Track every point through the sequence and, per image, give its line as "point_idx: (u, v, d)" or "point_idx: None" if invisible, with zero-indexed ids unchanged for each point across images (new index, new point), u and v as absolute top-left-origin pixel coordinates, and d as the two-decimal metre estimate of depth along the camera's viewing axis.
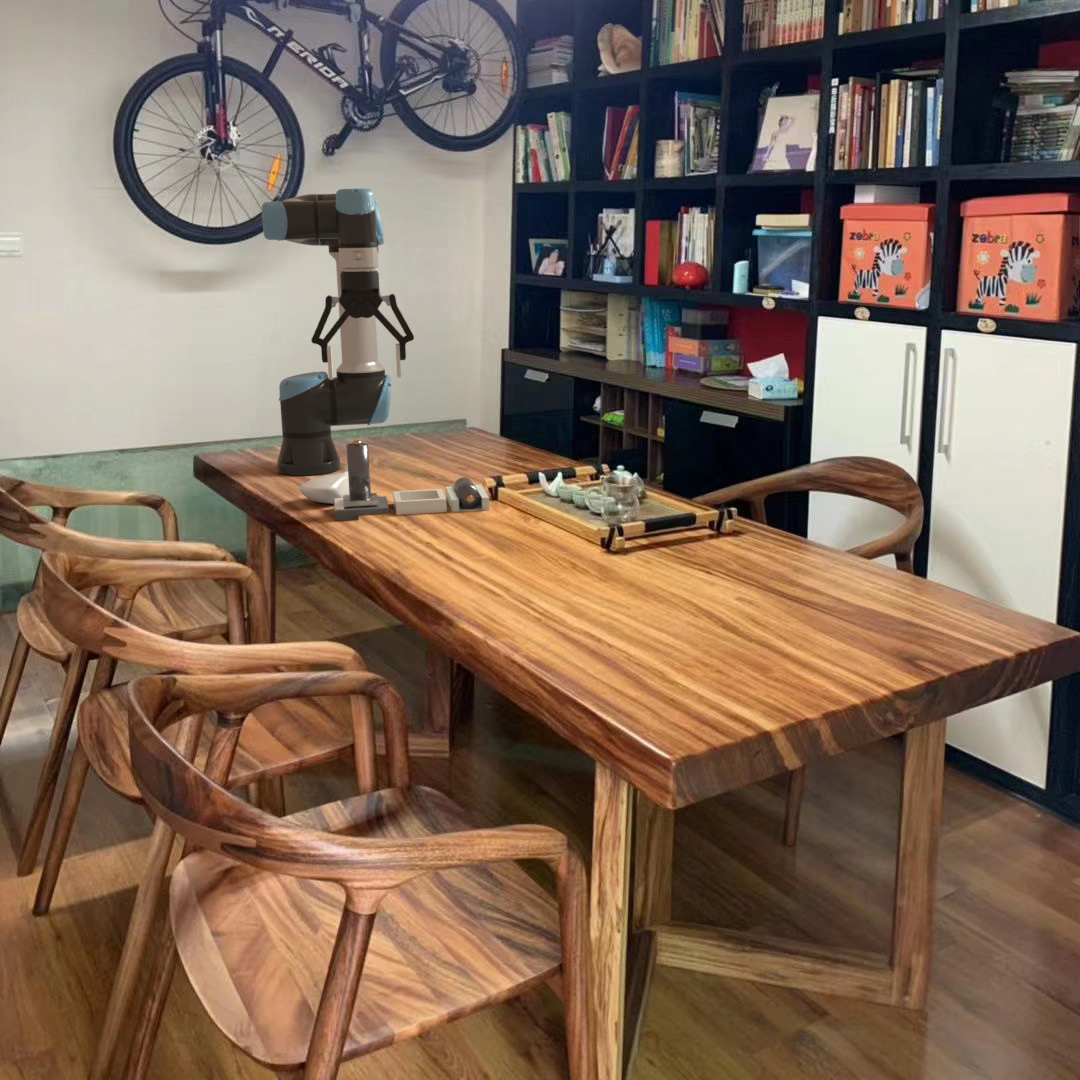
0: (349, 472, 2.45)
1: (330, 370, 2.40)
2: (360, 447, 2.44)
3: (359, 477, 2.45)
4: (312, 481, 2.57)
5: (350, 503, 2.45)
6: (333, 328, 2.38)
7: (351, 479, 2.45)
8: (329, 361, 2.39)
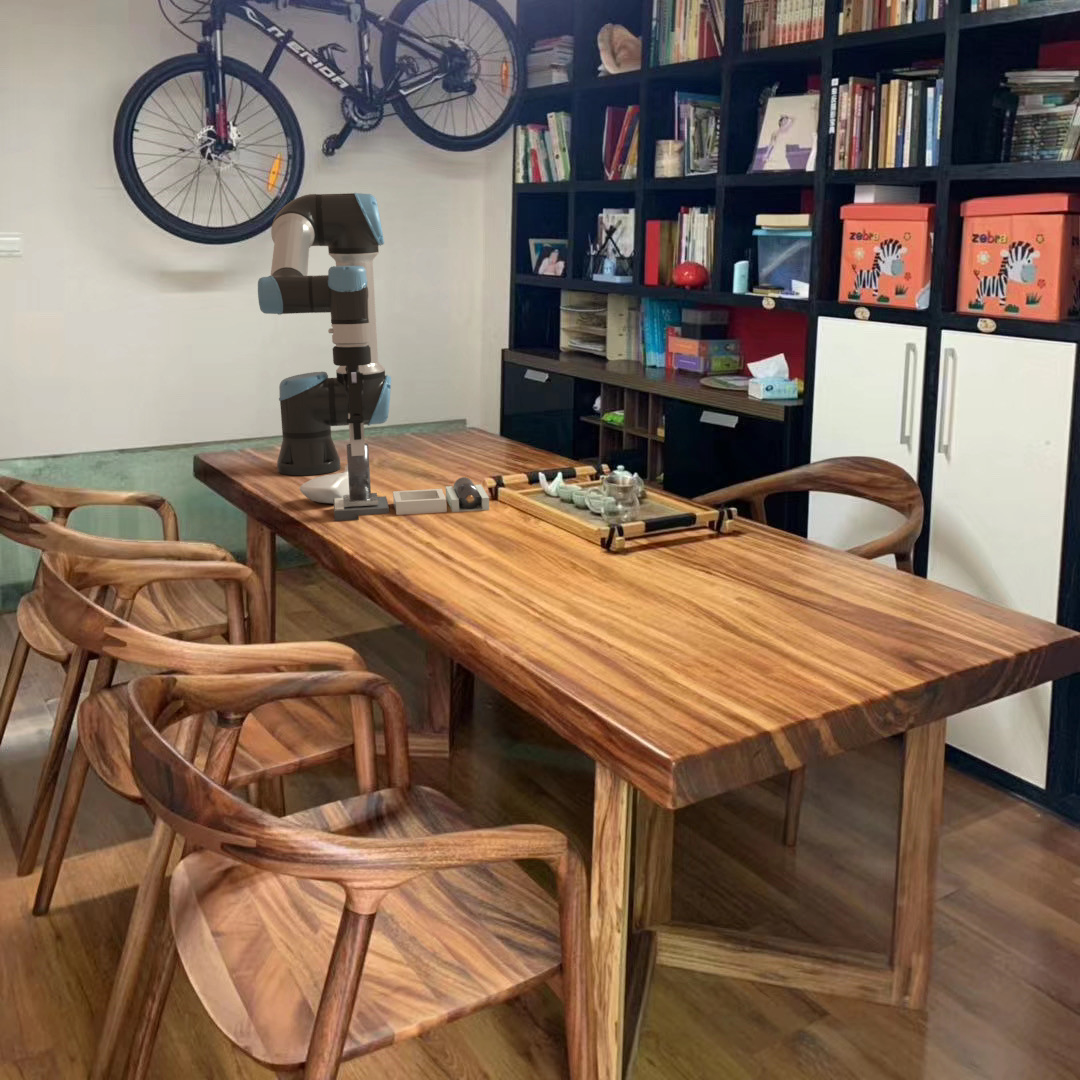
0: (349, 472, 2.45)
1: None
2: None
3: (359, 477, 2.45)
4: (312, 481, 2.57)
5: (350, 503, 2.45)
6: None
7: (351, 479, 2.45)
8: None
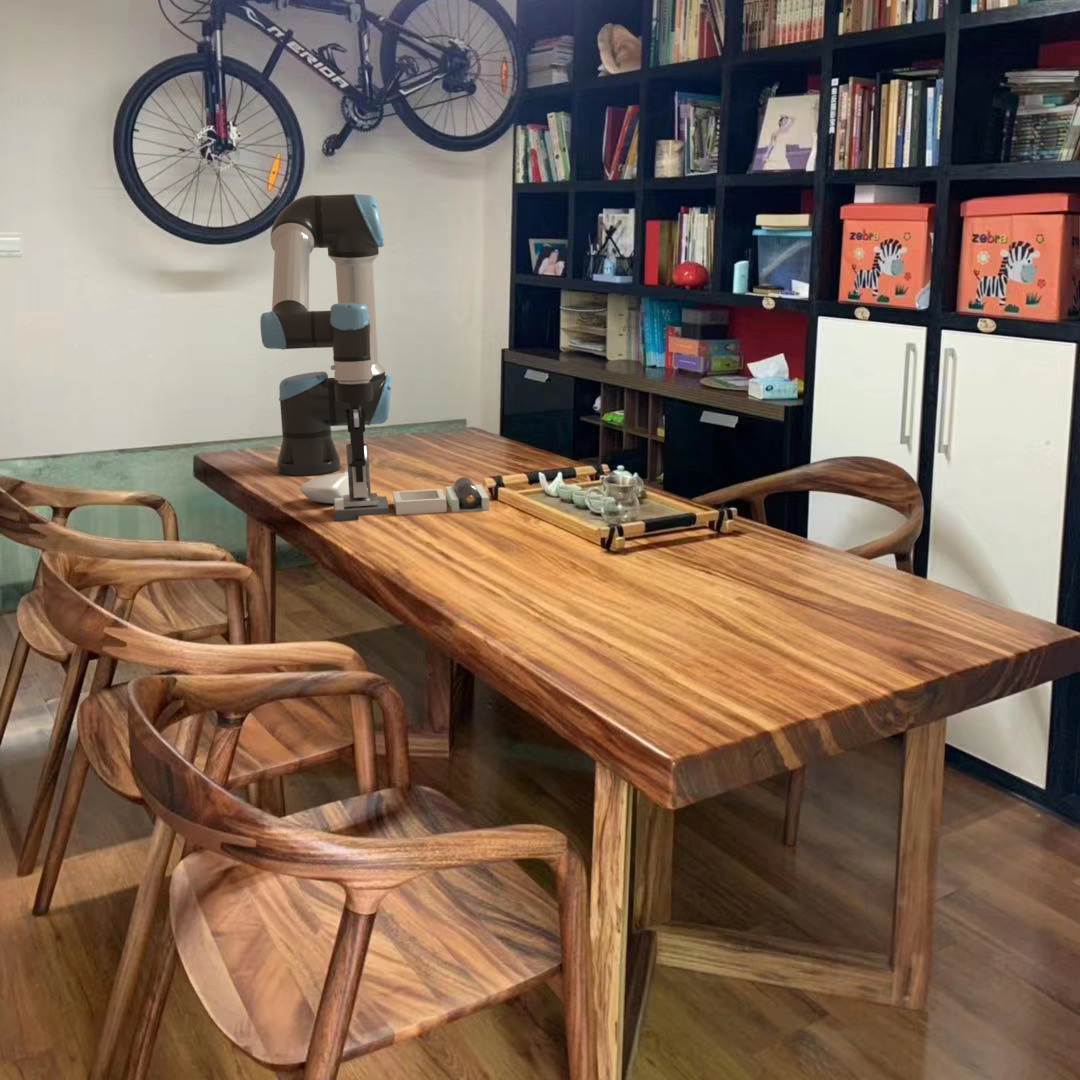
0: (349, 473, 2.45)
1: None
2: None
3: None
4: (313, 481, 2.57)
5: (350, 503, 2.45)
6: None
7: (351, 480, 2.45)
8: None
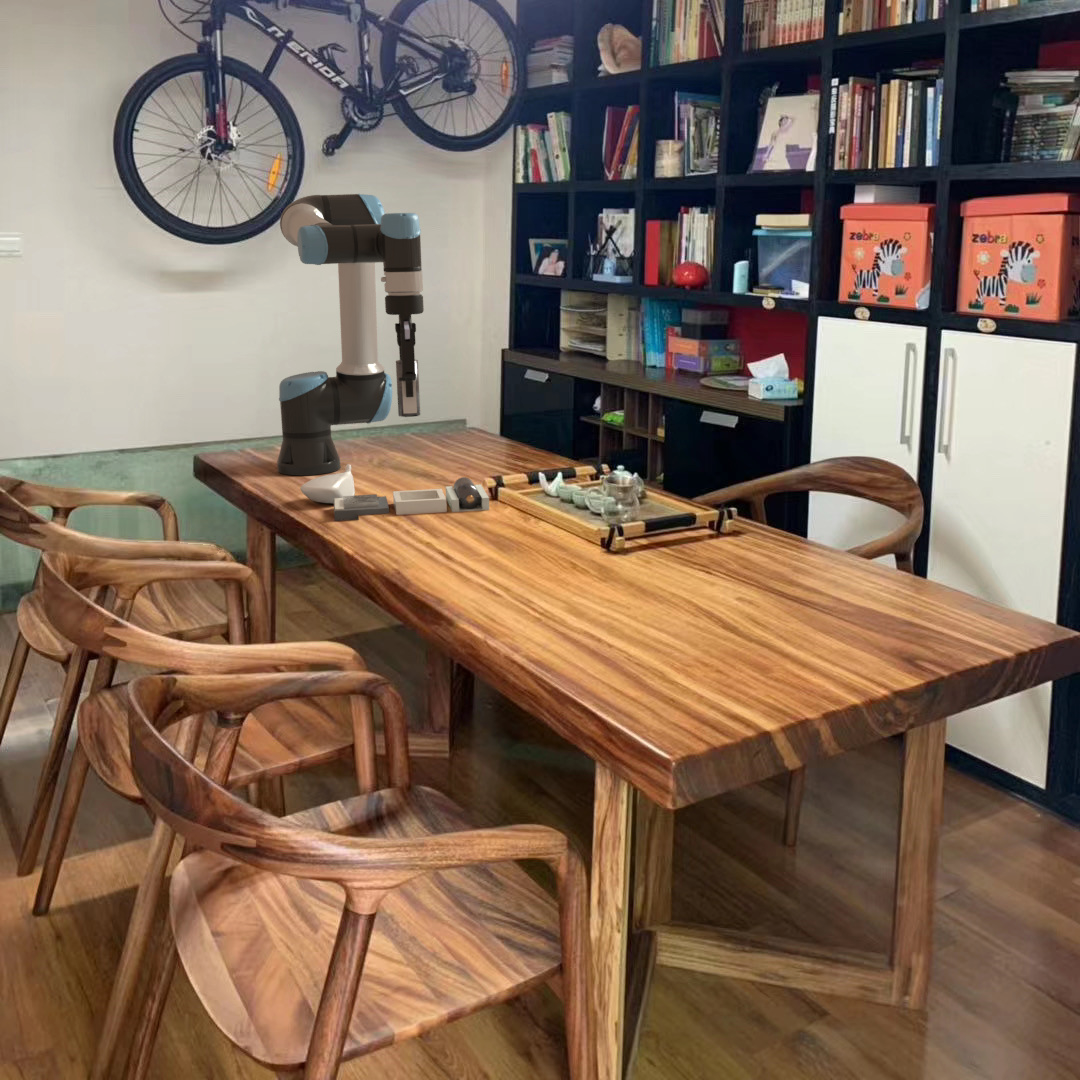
0: (398, 389, 2.41)
1: None
2: None
3: None
4: (313, 481, 2.57)
5: (350, 504, 2.45)
6: None
7: (401, 396, 2.41)
8: None
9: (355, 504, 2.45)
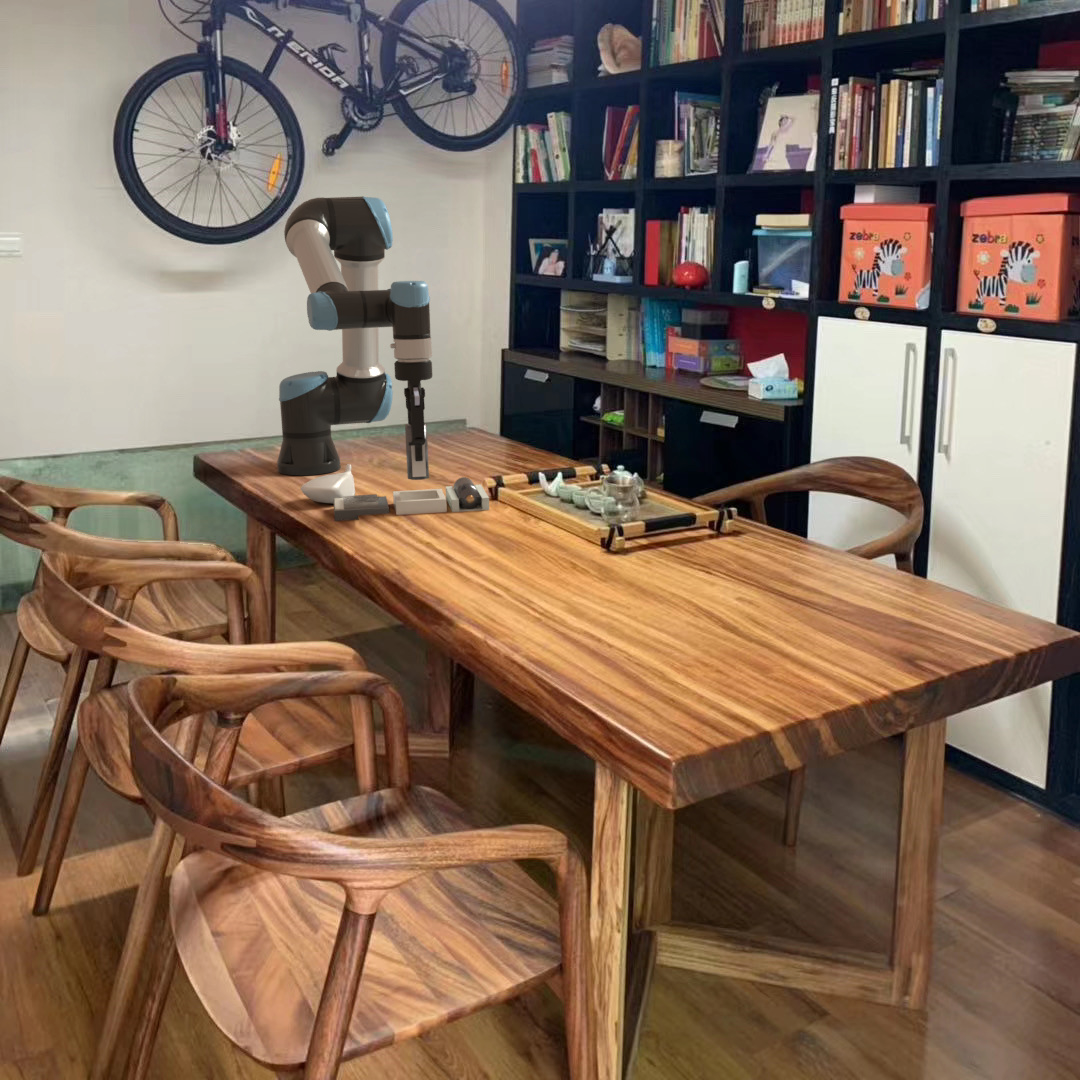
0: (408, 452, 2.44)
1: None
2: None
3: None
4: (313, 481, 2.57)
5: (350, 504, 2.45)
6: (409, 420, 2.47)
7: (410, 459, 2.44)
8: None
9: (355, 504, 2.45)
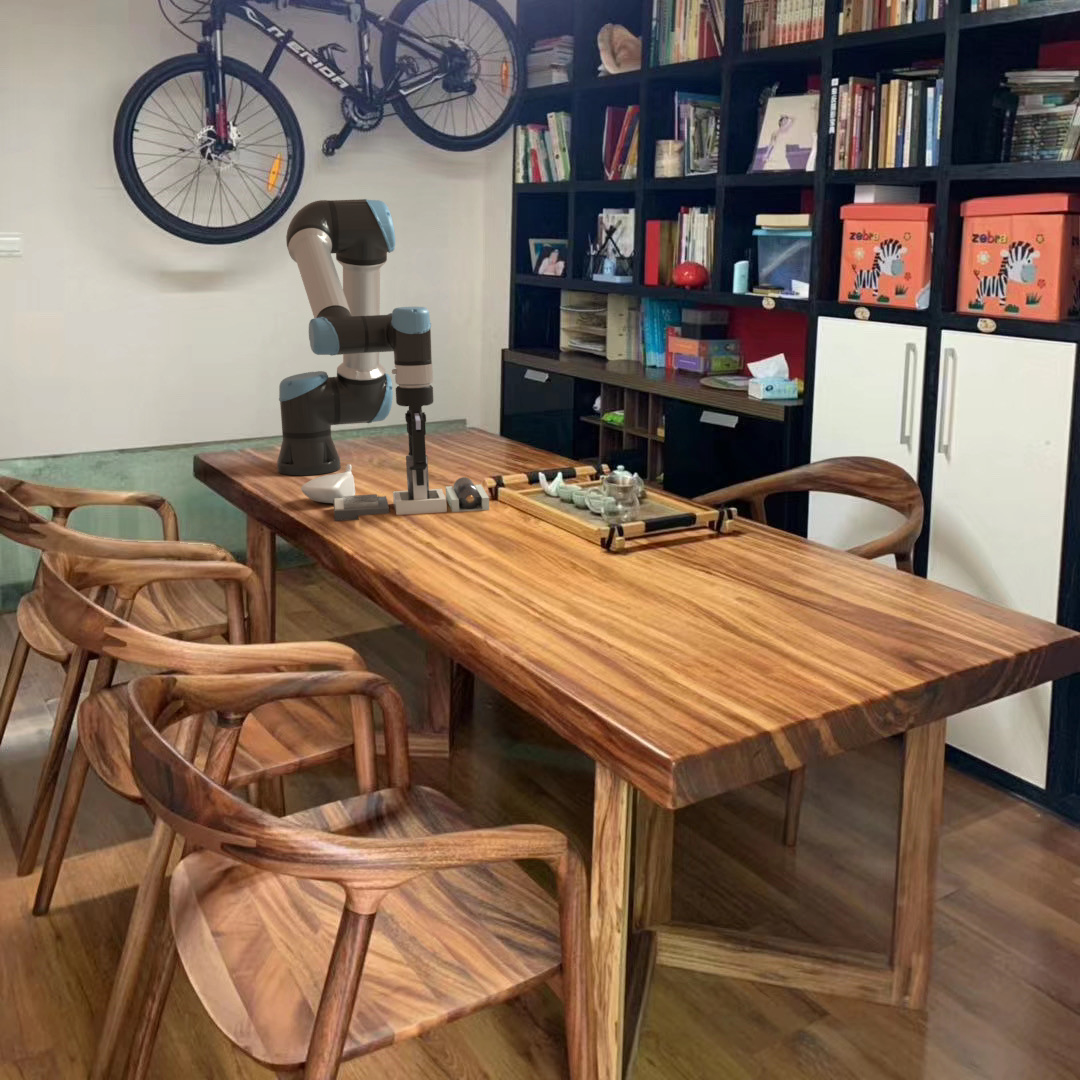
0: (408, 484, 2.46)
1: None
2: None
3: None
4: (314, 481, 2.57)
5: (350, 504, 2.45)
6: (409, 443, 2.49)
7: (411, 490, 2.46)
8: None
9: (355, 504, 2.45)
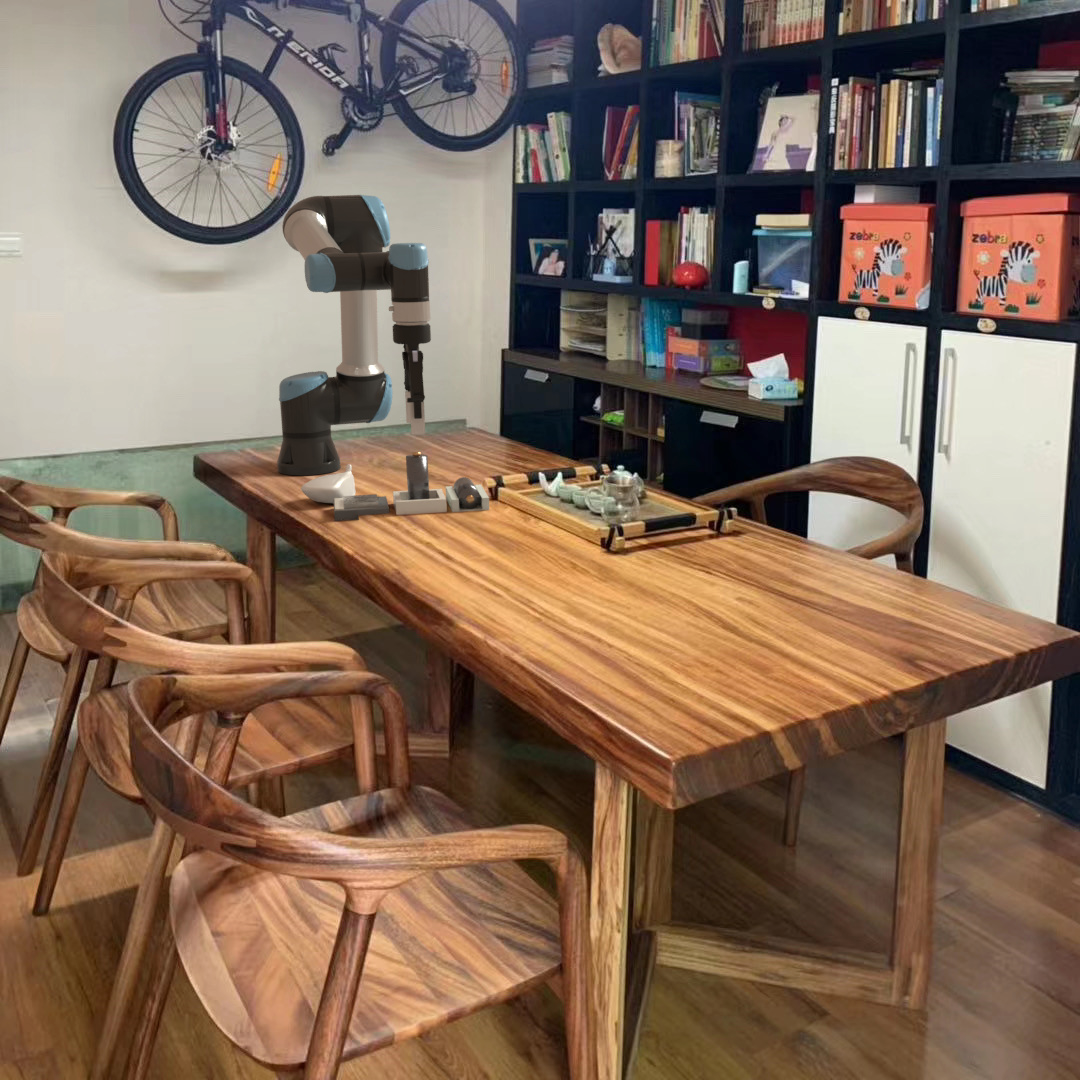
0: (408, 483, 2.47)
1: (406, 413, 2.51)
2: (420, 458, 2.45)
3: (418, 488, 2.46)
4: (314, 481, 2.57)
5: (350, 504, 2.45)
6: None
7: (411, 490, 2.46)
8: None
9: (355, 504, 2.45)
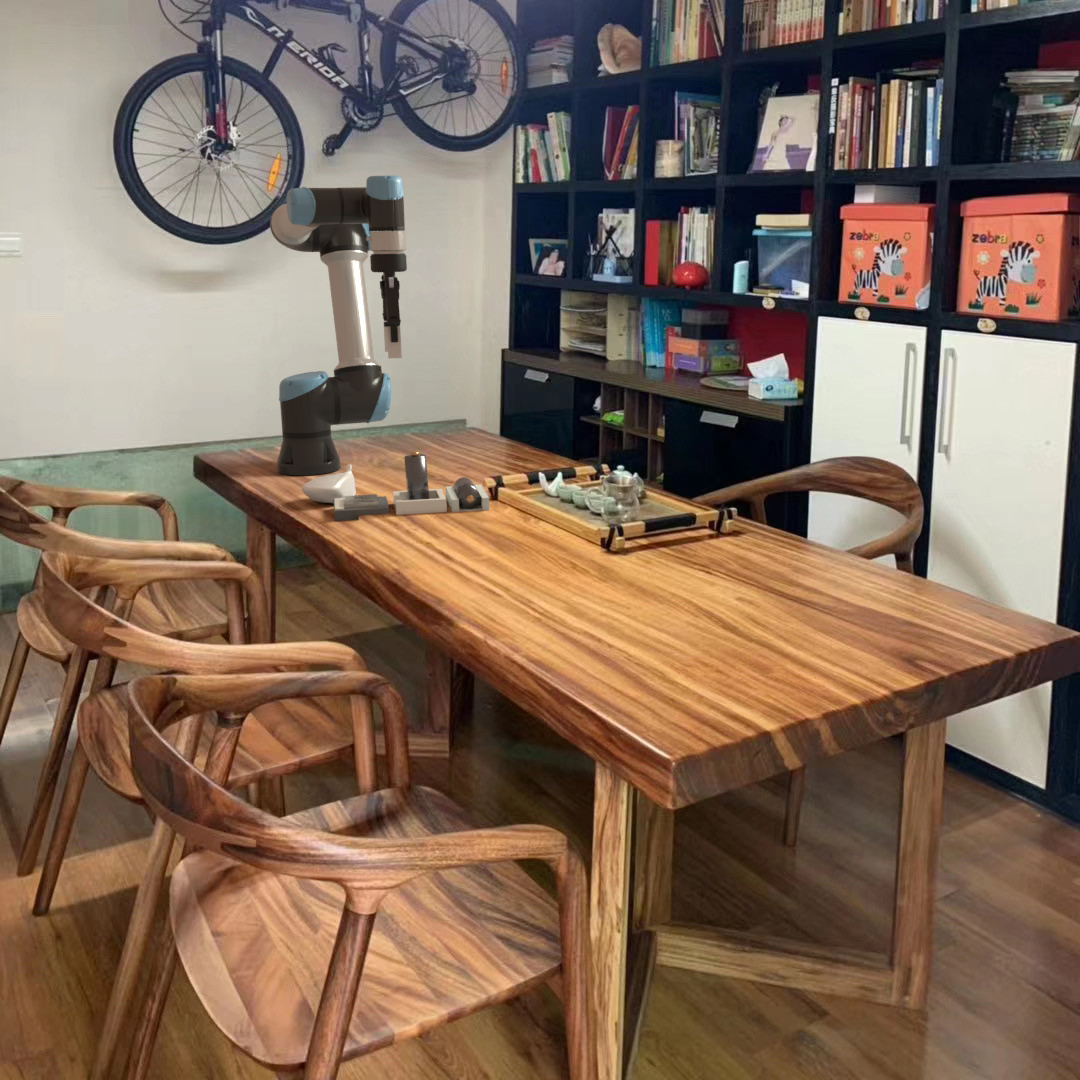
0: (407, 484, 2.47)
1: None
2: (418, 458, 2.45)
3: (417, 488, 2.46)
4: (314, 481, 2.57)
5: (350, 504, 2.45)
6: None
7: (410, 491, 2.46)
8: (384, 334, 2.62)
9: (355, 504, 2.45)
